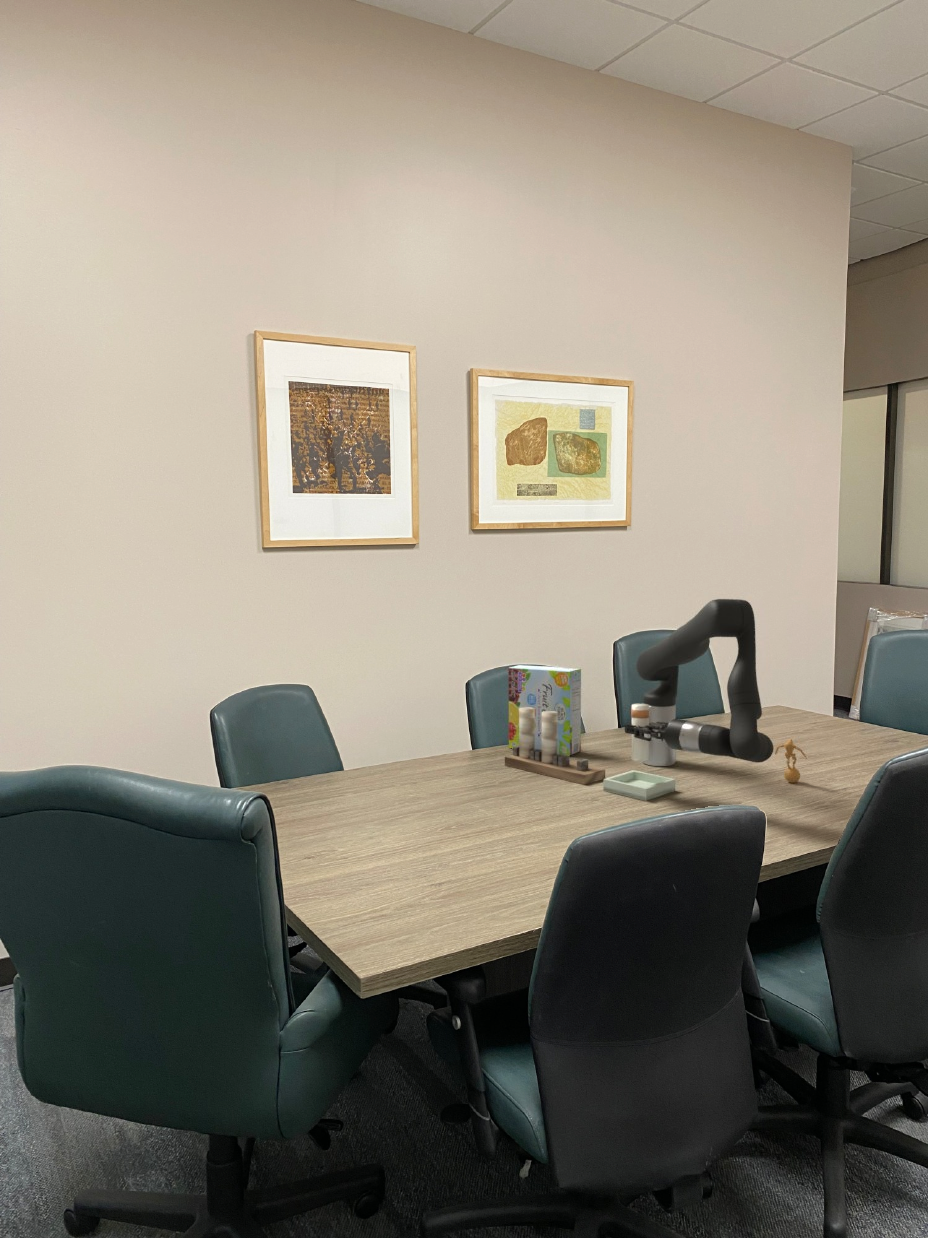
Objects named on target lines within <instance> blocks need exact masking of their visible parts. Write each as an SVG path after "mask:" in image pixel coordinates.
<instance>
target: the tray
mask: <svg viewBox="0 0 928 1238" xmlns="http://www.w3.org/2000/svg"><path fill="white" fill-rule="evenodd" d="M602 789H603V791H604V792H608V793H610V794H611V793H612V794H616V795H620V796H623V797H627V798H632V799H636V800H641V801H645V802H647V801H650V800H653V799H656V798H658V797H661V796H664V795H667V794H670V793H673V792H676V778H671V777H667V776H662V775H657V774H654V773H649V772H643V771H639V770H635V769H634V770H633V769H632V770H629V771H626V772H623V773H619V774H615V775H613V776H609V777H607V778H606V777H605V779H603V788H602Z"/></svg>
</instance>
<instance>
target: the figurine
mask: <svg viewBox="0 0 928 1238" xmlns="http://www.w3.org/2000/svg"><path fill="white" fill-rule="evenodd" d="M783 747H784V748H785V751H786V752H784V755H785V759H786V766H787V768H786V769H785V771H784V775H783V777H784V779H785V780H786V782H789V783H790V784H793V783H794V784H795V783H797V782H799V780H800V779H801V773H800V771H799V770H798V769H797V767H796V766H795V765H796V762H797V760H798V759H797V756H796V753H794V750H797V751H799V752H800V753H801V754H802V755H803V756H804V757H805V760H808V758H807V755H806V754H805V753H804V752H803V750H802V749H801V748H799V747H798V746H796V745H795V744H794V743H793V738H790V739H789V740H788V741H787V742H785V743H782V744H780V745H777V746H776V749H775V752H774V755H778V754H779V753H778V752H779V751H778V750H779V749H780V748H783ZM790 759H792V760H793V762H792V767H791V766H790Z"/></svg>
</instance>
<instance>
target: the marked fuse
mask: <svg viewBox="0 0 928 1238" xmlns="http://www.w3.org/2000/svg"><path fill="white" fill-rule="evenodd" d="M630 712H631V713H630V715H631V716H630V717H631V725H636V726H638V725H639V726H646V725H649V717H650V709H649V705H648V704H643V703H632V704H631V710H630ZM631 760H632V761H634V762H635V761H636V762H642V761H648V760H649V741H646V740H642V739H639V738H635V737H634V734H631Z"/></svg>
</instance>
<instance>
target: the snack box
mask: <svg viewBox="0 0 928 1238" xmlns="http://www.w3.org/2000/svg"><path fill="white" fill-rule="evenodd" d="M522 707H532V708H535V749H541V750H542V712H544V711H555V712H557V754H564V755H569V756H572V755H575V754H578V753H579V752H581V751H582V735H581V734H582V728H581V727H582V668H570V667H558V666H546V665H545V666H543V665H542V666H540V665H524V664H523V665H522V664H521V665H520V664H519V665H515V666H509V667H508V749H511V748H513V747H514V746H519V708H522Z"/></svg>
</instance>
